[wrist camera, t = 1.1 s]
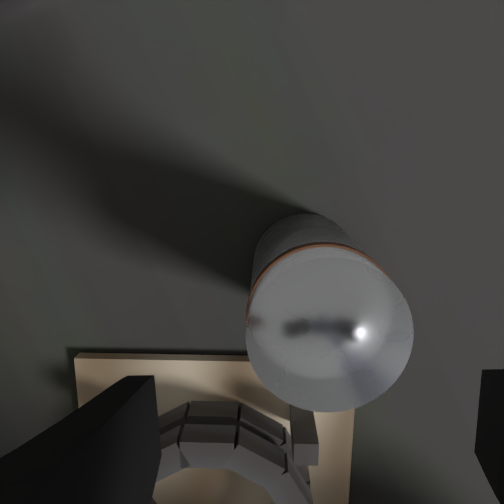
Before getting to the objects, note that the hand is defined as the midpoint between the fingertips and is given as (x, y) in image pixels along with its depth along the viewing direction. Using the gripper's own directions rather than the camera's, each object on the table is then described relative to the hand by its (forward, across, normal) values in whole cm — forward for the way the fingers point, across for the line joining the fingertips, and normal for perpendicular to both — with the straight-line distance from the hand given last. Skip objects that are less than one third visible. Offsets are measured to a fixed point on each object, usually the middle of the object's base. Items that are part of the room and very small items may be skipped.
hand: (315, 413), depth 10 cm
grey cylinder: (+10, -1, -1) cm, 11 cm away
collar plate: (+10, +4, +10) cm, 15 cm away
